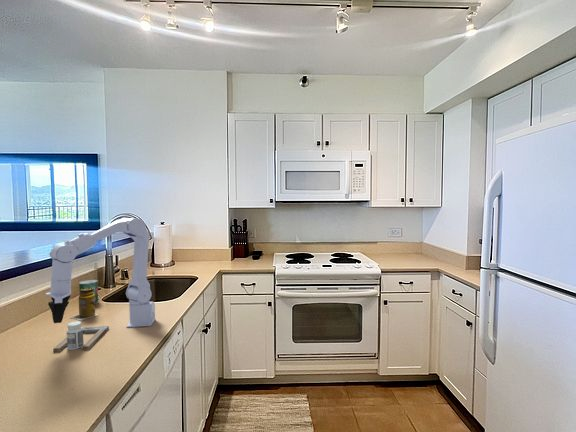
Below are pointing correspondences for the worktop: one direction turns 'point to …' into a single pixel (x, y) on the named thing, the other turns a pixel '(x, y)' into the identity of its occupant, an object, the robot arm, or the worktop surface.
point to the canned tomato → (90, 284)
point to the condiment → (86, 304)
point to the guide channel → (85, 346)
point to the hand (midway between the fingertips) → (58, 319)
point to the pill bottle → (74, 335)
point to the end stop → (94, 329)
